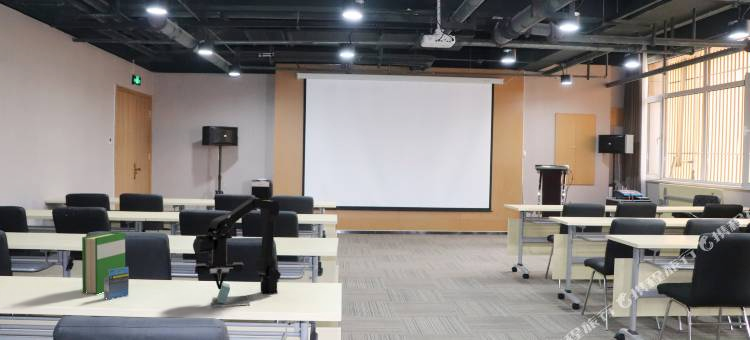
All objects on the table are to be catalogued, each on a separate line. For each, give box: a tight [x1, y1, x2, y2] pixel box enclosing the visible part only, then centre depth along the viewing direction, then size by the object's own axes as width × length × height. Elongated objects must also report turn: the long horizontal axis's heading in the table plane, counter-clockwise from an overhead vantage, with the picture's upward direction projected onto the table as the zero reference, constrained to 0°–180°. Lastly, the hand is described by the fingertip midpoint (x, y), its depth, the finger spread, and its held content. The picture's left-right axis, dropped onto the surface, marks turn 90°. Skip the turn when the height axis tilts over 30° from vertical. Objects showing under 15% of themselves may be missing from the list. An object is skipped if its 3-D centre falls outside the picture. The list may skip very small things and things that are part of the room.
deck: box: [216, 282, 231, 304], centre depth 238 cm, size 3×9×6 cm, turn 16°
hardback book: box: [81, 231, 126, 295], centre depth 257 cm, size 18×7×24 cm, turn 165°
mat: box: [212, 294, 251, 308], centre depth 239 cm, size 14×15×1 cm
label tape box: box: [103, 266, 130, 300], centre depth 245 cm, size 9×4×12 cm, turn 145°
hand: (219, 288), depth 238 cm, fingers closed
